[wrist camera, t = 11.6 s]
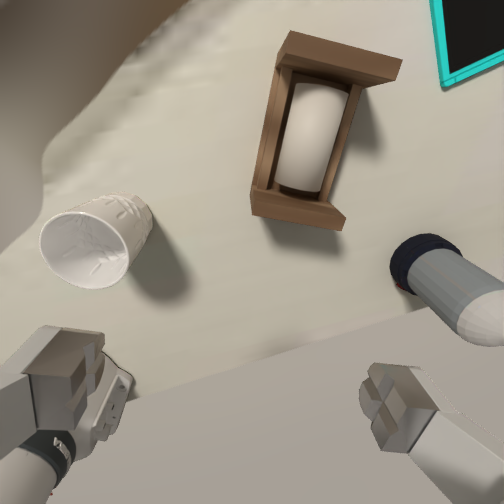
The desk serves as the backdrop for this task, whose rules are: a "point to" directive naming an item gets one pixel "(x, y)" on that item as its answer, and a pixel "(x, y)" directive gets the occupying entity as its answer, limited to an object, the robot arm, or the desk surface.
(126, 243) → the white cup
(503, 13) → the handheld game console
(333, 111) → the roll
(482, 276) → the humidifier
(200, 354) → the desk surface
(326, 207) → the holder
